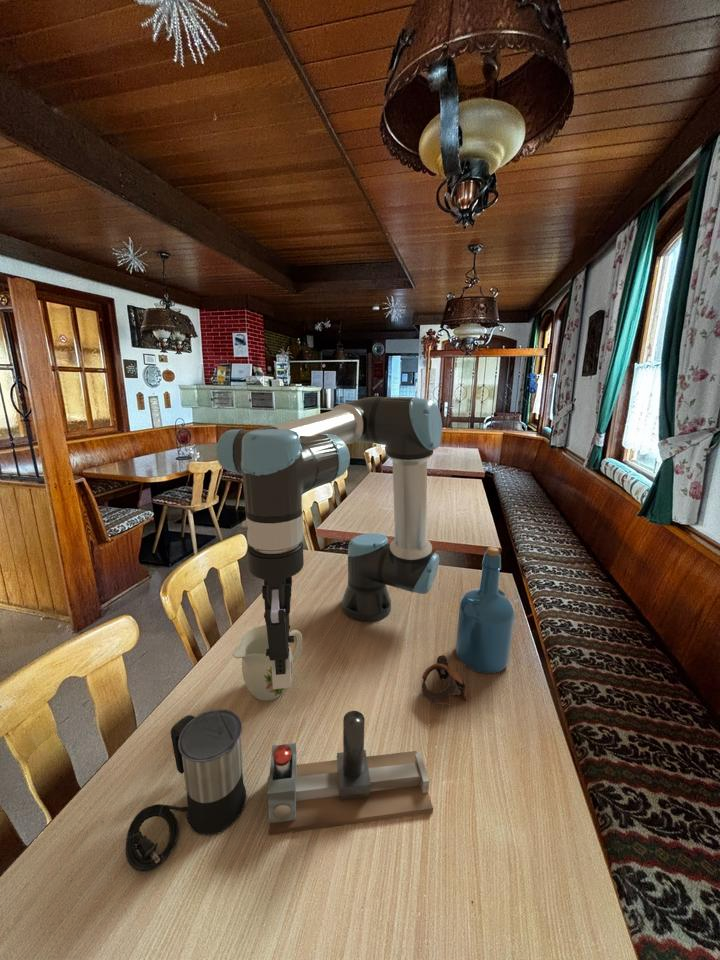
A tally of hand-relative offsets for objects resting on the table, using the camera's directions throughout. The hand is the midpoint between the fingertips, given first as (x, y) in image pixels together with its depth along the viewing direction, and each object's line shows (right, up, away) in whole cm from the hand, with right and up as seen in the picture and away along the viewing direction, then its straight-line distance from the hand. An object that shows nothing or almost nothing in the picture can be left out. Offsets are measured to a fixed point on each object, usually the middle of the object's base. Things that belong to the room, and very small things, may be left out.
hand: (282, 684), depth 59 cm
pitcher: (-8, -16, +28) cm, 34 cm away
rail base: (+10, -22, +6) cm, 25 cm away
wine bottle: (+43, -14, +39) cm, 60 cm away
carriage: (+11, -20, +6) cm, 24 cm away
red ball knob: (-1, -17, +4) cm, 18 cm away
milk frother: (-15, -23, +2) cm, 27 cm away
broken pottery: (+31, -17, +28) cm, 45 cm away
